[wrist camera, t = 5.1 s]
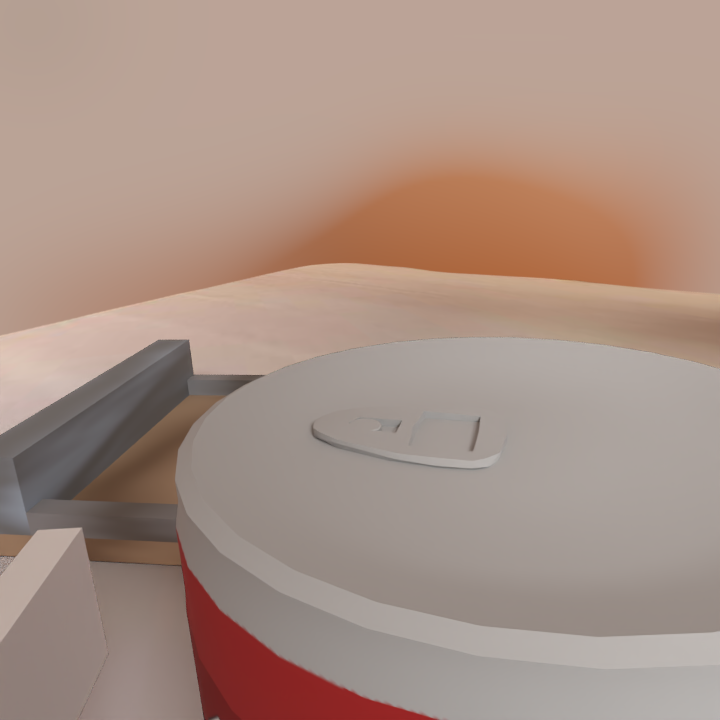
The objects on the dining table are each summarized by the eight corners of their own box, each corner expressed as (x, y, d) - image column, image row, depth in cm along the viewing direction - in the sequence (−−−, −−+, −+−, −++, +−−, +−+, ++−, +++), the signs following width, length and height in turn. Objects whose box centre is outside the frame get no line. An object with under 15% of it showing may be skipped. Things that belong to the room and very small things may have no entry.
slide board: (577, 409, 35) (582, 338, 34) (677, 592, 20) (694, 477, 19) (146, 403, 39) (136, 340, 38) (-44, 553, 24) (-72, 455, 22)
